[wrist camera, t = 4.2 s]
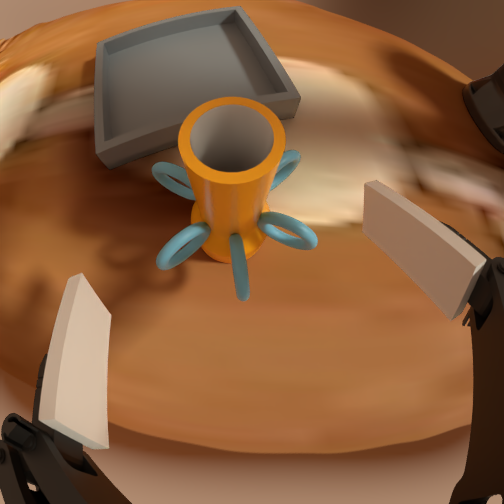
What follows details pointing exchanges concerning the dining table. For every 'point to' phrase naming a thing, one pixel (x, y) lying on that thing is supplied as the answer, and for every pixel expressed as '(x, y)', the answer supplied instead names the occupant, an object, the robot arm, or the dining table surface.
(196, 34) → the tray
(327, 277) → the dining table surface
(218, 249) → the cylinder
